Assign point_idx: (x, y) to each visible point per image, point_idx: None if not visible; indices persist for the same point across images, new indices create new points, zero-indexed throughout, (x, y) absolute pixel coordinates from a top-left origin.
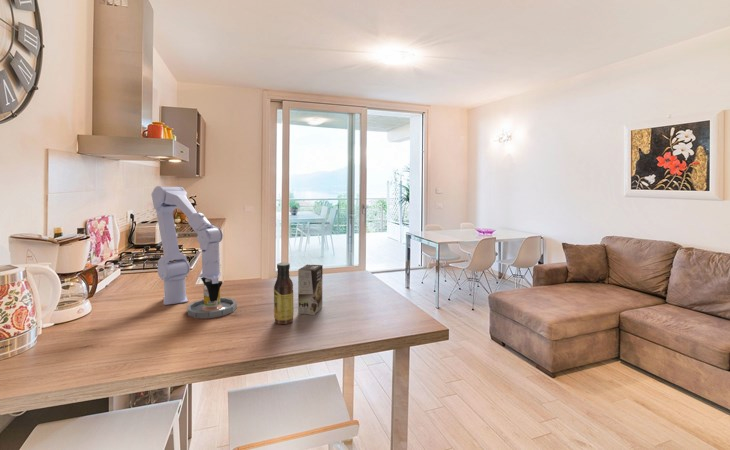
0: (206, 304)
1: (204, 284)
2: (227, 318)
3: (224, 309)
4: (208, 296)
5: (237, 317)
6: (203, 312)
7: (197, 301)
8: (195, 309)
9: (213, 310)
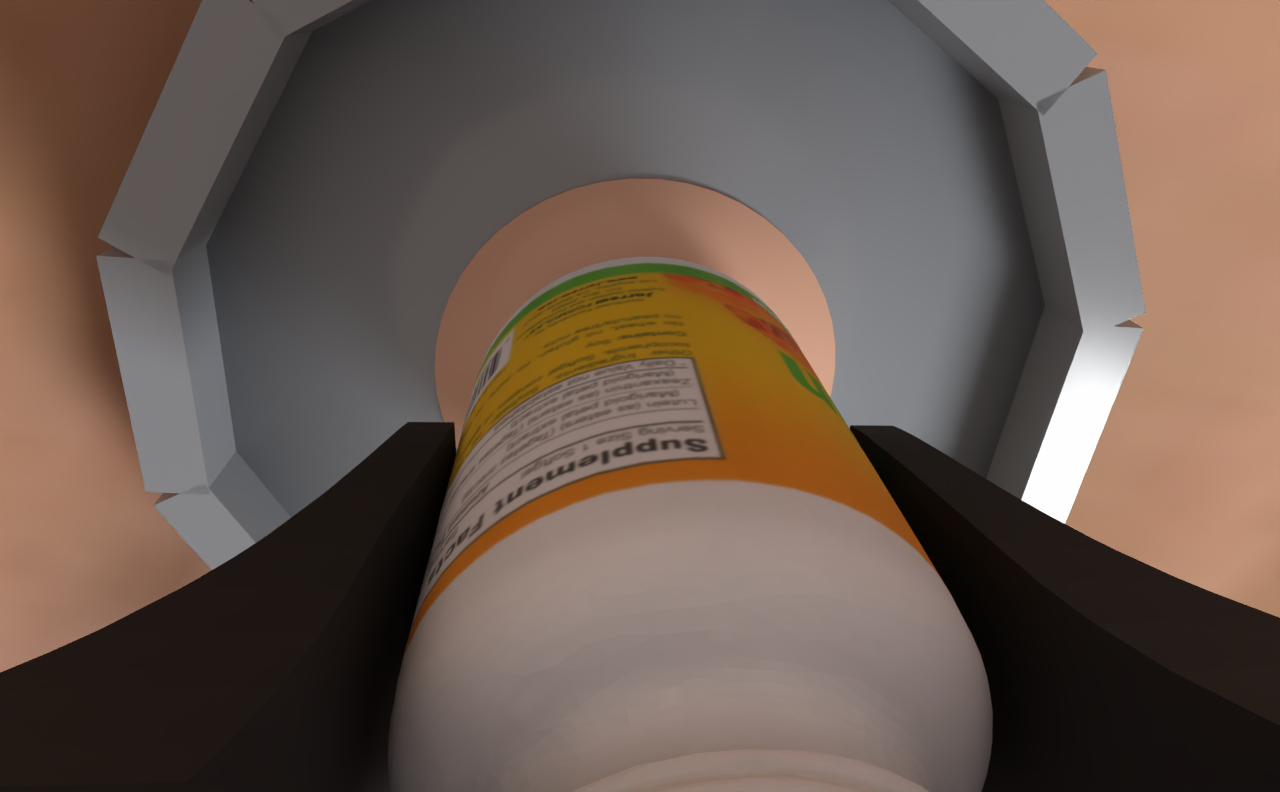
0: (539, 302)
1: (1074, 618)
2: (42, 482)
3: (195, 541)
4: (468, 451)
5: (43, 608)
6: (150, 143)
7: (1079, 178)
8: (737, 53)
9: (438, 366)
